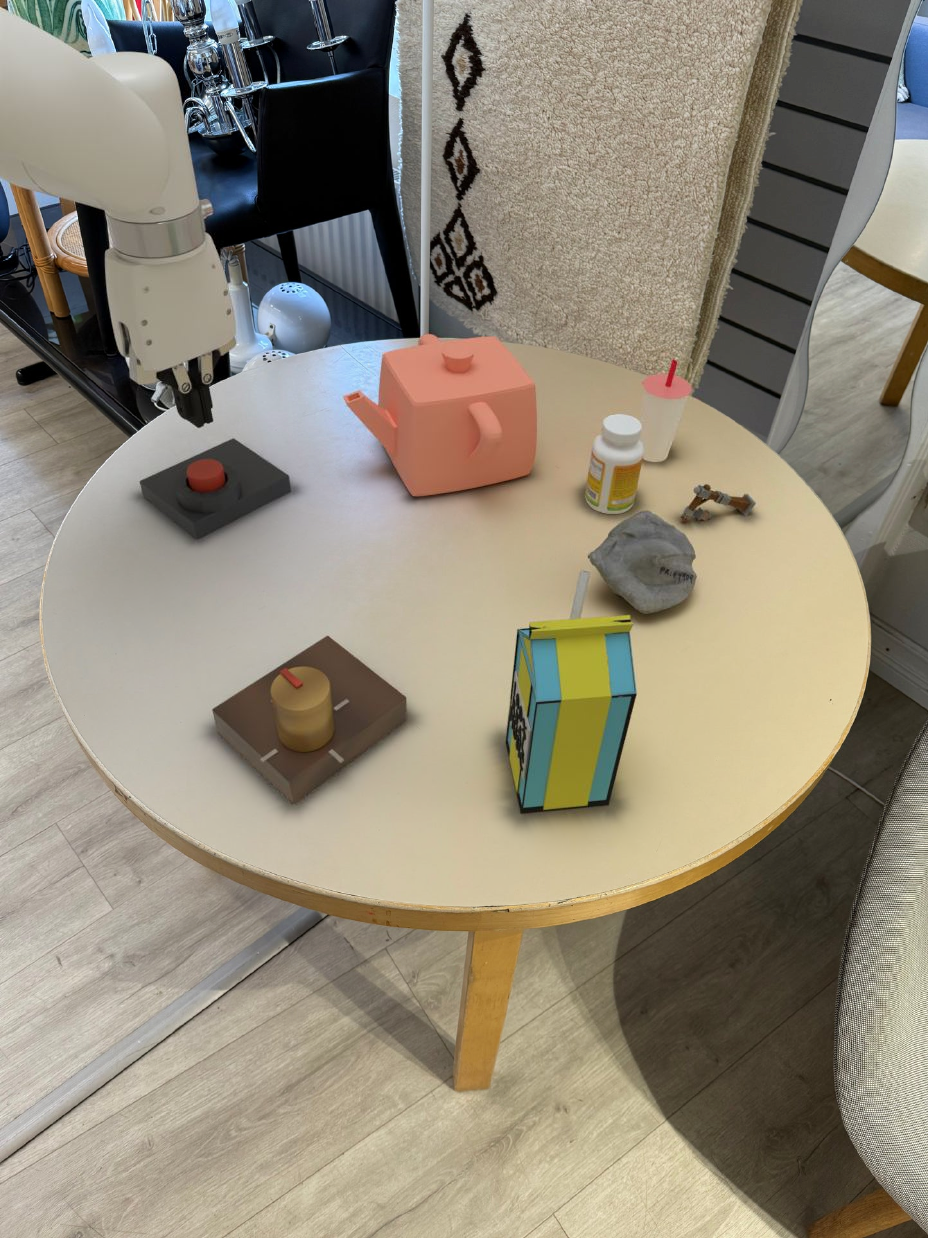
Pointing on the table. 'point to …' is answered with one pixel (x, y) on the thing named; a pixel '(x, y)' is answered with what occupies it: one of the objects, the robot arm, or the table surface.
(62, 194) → the robot arm
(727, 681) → the table surface
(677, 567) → the fossil
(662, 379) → the cup
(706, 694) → the table surface
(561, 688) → the carton
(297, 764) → the panel
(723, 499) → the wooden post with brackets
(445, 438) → the teapot
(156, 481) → the button block
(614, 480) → the supplement bottle
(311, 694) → the knob
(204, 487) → the button
